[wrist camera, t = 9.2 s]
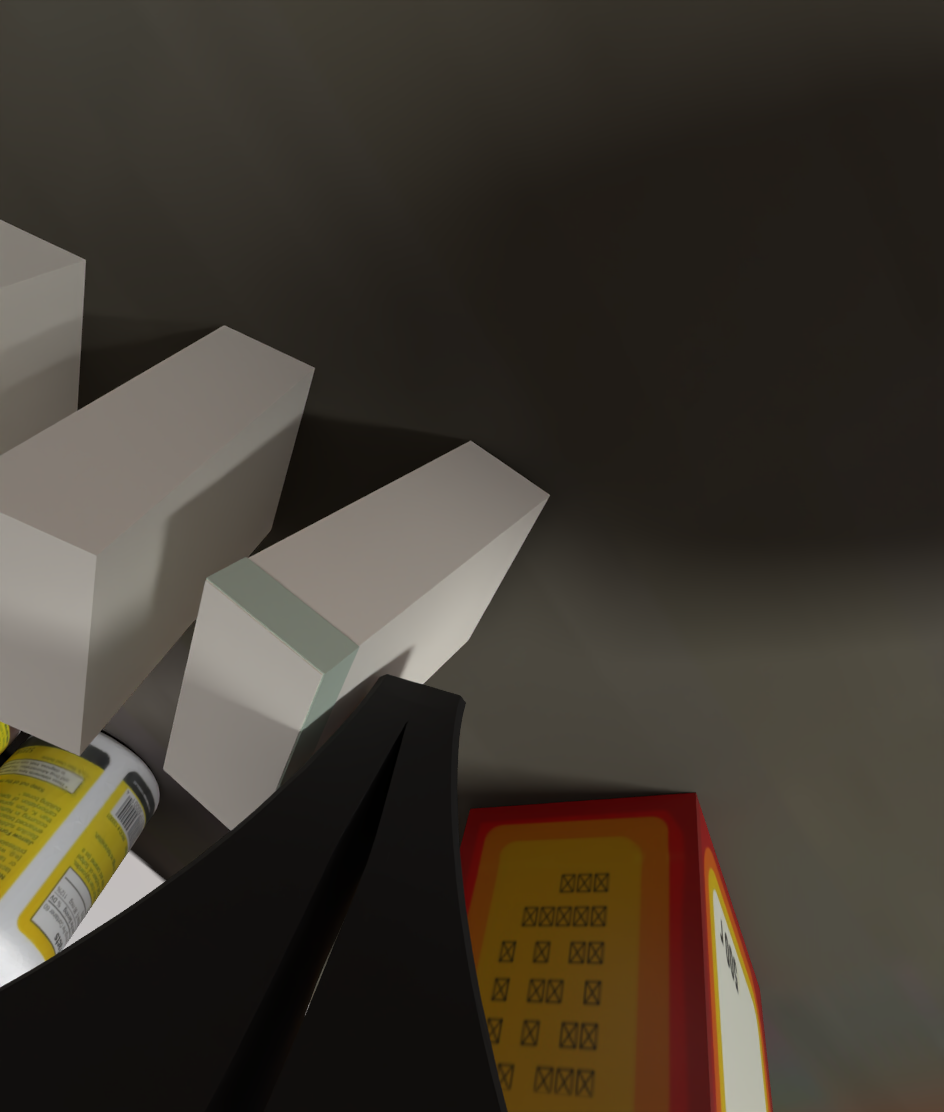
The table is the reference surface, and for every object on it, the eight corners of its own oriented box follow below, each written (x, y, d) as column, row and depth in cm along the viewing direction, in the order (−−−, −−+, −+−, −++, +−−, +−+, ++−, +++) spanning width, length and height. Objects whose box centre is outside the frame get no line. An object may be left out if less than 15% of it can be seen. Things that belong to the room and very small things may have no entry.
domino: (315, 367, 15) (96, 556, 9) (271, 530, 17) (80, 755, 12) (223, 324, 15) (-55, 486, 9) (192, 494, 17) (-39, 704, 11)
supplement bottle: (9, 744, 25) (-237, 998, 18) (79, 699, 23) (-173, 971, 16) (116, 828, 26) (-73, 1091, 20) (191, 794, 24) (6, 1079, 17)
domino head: (551, 495, 14) (323, 675, 9) (468, 641, 17) (252, 851, 11) (470, 439, 15) (205, 577, 9) (401, 590, 17) (162, 768, 12)
